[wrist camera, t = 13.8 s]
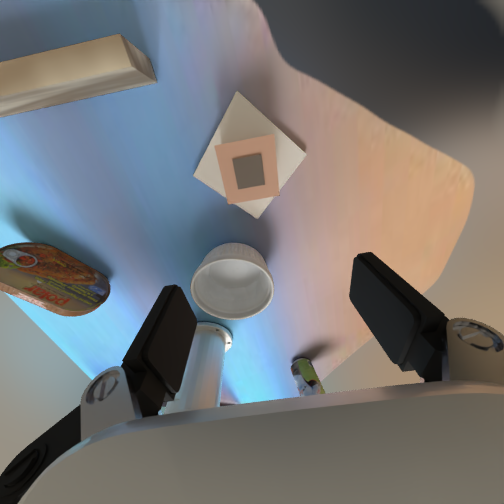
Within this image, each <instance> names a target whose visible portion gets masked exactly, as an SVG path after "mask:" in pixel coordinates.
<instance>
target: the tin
mask: <svg viewBox="0 0 504 504" xmlns="http://www.w3.org/2000/svg"><path fill="white" fill-rule="evenodd" d="M0 290H1V291H4V292H6V293H8V294H11V295H13V296H16V297H18V298H20V299H23V300H25V301H28V302H30V303H32V304H35V305H37V306H39V307H42V308H44V309H47V310H49V311H51V312H53V313H56V314H59V315H62V316H81V315H85V314H88V313H90V312H92V311H94V310H95V309H97V308H98V307H99V306H100V305H101V304H103V303H104V302H105V301H106V300H107V298H108V297H109V294H110V284H109V281H108V279H107V278H106V277H105V276H104V275H103V274H102V273H100V272H98V271H97V270H95V269H93V268H91V267H89V266H87V265H86V264H84V263H82V262H80V261H78V260H76V259H75V258H73V257H71V256H69V255H68V254H66V253H64V252H62V251H61V250H59V249H57V248H55V247H52V246H49V245H46V244H41V243H32V242H25V243H16V244H11V245H7V246H5V247H2V248H0Z"/></svg>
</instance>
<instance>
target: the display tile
mask: <svg viewBox="0 0 504 504" xmlns="http://www.w3.org/2000/svg"><path fill="white" fill-rule="evenodd" d="M271 134H274V137H275V148H276V160H277V171H278V183H279V190H280V189H281V188H282V186H283V185H284V184H285V183H286V181H287V180H288V179H289V177H290V176H291V175H292V173H293V172H294V171H295V170H296V168H297V167H298V166H299V164H300V163H301V162H302V160H303V159H304V158H305V156H306V155H307V154H306V153H305V152H304V151H302V150H301V149H300V148H299V147H298V146H297V145H296V144H295V143H294V142H293V141H292V140H290V139H289V138H288V137H287V136H286V135H285V134H284V133H283V132H282V131H281V130H280V129H278V128H277V127H276V126H275V125H274V124H273V123H272V122H271V121H270V120H269V119H268V118H266V117H265V116H264V115H263V114H262V113H261V112H260V111H259V110H258V109H257V108H256V107H254V106H253V105H252V104H251V103H250V102H249V101H248V100H247V99H246V98H245V97H244V96H242V95H241V94H240V93H239V92H238V91H236V93H235V95H234V97H233V99H232V101H231V103H230V105H229V107H228V109H227V111H226V113H225V115H224V117H223V119H222V120H221V122H220V124H219V126H218V128H217V130H216V132H215V134H214V136H213V138H212V140H211V142H210V144H209V146H208V148H207V150H206V151H205V153H204V155H203V157H202V159H201V161H200V163H199V165H198V167H197V169H196V171H195V173H194V175H193V176H194V177H196V178H197V179H199V180H200V181H201V182H203V183H204V184H206V185H207V186H209V187H210V188H212V189H213V190H215V191H216V192H218V193H219V194H221V195H222V196H224V197H225V198H227V197H226V193H225V189H224V185H223V181H222V176H221V172H220V168H219V164H218V159H217V155H216V151H215V147H214V146H215V145H220V144H225V143H230V142H235V141H241V140H246V139H251V138H256V137H261V136H266V135H271ZM274 197H275V196H274ZM274 197H268V198H262V199H257V200H251V201H245V202H240V203H234V204H236V205H237V206H239V207H240V208H242V209H243V210H244V211H246V212H247V213H249V214H250V215H252V216H253V217H255V218H256V219H258V218H259V217H260V215H261V214H262V213H263V211H264V210H265V209H266V207H267V206H268V205H269V203H270V202H271V201H272V200H273V198H274Z"/></svg>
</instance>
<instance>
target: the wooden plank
mask: <svg viewBox="0 0 504 504" xmlns="http://www.w3.org/2000/svg"><path fill="white" fill-rule="evenodd" d="M155 83H157V80H156V77H155V74H154V71H153V68H152V65H151V62H150V59H149V58H148V57H147V56H146V55H145V54H143V53H142V52H141V51H140V50H139V49H137V48H136V47H135V46H134V45H133V44H131V43H130V42H129V41H128V40H127V39H125V38H124V37H123V36H122V35H121V34H116V35H112V36H107V37H103V38H99V39H95V40H91V41H87V42H82V43H78V44H74V45H70V46H66V47H62V48H57V49H53V50H49V51H45V52H41V53H37V54H33V55H28V56H24V57H20V58H16V59H12V60H8V61H3V62H0V117H5V116H9V115H14V114H18V113H23V112H27V111H32V110H36V109H41V108H46V107H50V106H55V105H59V104H64V103H68V102H73V101H77V100H82V99H86V98H91V97H96V96H100V95H105V94H109V93H114V92H118V91H123V90H127V89H132V88H136V87H141V86H146V85H150V84H155Z"/></svg>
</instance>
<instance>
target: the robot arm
mask: <svg viewBox="0 0 504 504" xmlns="http://www.w3.org/2000/svg"><path fill="white" fill-rule="evenodd" d="M349 297H350V300H351V302H352V304H353V305H354V307H355V308H356V310H357V311H358V312H359V314H360V315H361V317H362V318H363V320H364V321H365V323H366V324H367V326H368V327H369V329H370V330H371V332H372V333H373V335H374V336H375V338H376V339H377V340H378V342H379V343H380V345H381V346H382V348H383V349H384V351H385V352H386V354H387V355H388V357H389V358H390V360H391V361H392V362H393V363H394V364H398V366H399V367H400V369H401V370H402V371H403V372H404V371H412V370H416V372H417V373H418V375H419V376H420V383H416V384H405V385H395V386H385V387H377V388H369V389H360V390H352V391H343V392H335V393H326V394H318V395H310V396H302V397H293V398H285V399H277V400H269V401H261V402H253V403H245V404H237V405H230V406H222V407H220V396H221V386H222V376H223V366H224V356H225V352H226V351H227V350H229V349H230V347H231V345H232V335H231V333H230V332H229V331H228V330H227V329H226V328H224V327H223V326H221V325H219V324H215V323H210V322H198V323H197V319H196V317H195V315H194V313H193V311H192V309H191V307H190V305H189V303H188V301H187V299H186V297H185V295H184V293H183V291H182V289H181V287H178V286H177V285H169V286H165V287H164V288H163V289H162V291H161V293H160V295H159V296H158V298H157V300H156V302H155V304H154V305H153V307H152V309H151V311H150V312H149V314H148V316H147V318H146V319H145V321H144V323H143V325H142V327H141V328H140V330H139V332H138V334H137V335H136V337H135V339H134V341H133V343H132V344H131V346H130V348H129V350H128V351H127V353H126V355H125V357H124V358H123V360H122V361H123V363H122V365H121V367H119V366H114V367H111V368H108V369H106V370H105V371H103V372H101V373H100V374H99V375H98V376H96V377H95V378H94V379H93V380H92V381H91V382H90V384H89V385H88V387H87V388H86V389H85V391H84V393H83V395H82V397H81V404H80V405H79V406H78V407H76V408H75V409H74V410H73V411H71V412H70V413H69V414H68V415H67V416H65V417H64V418H62V419H61V420H60V421H59V422H57V423H56V424H55V425H54V426H52V427H51V428H50V429H49V430H47V431H46V432H45V433H43V434H42V435H41V436H40V437H38V438H37V439H36V440H35V441H33V442H32V443H31V444H30V445H28V446H27V447H26V448H25V449H24V450H23V451H21V452H20V453H19V454H18V455H17V456H16V457H15V458H14V459H13V460H12V462H11V463H10V464H9V465H8V466H7V467H6V469H5V470H4V472H3V473H2V474H1V476H0V504H504V336H503V335H502V334H501V333H500V332H498V331H497V330H495V329H494V328H492V327H490V326H488V325H486V324H484V323H482V322H478V321H476V320H472V319H467V318H454V319H451V320H449V319H448V318H447V317H445V316H444V313H443V312H441V311H440V310H439V309H438V308H437V307H436V306H434V305H433V304H432V303H431V302H429V301H428V300H427V299H426V298H425V297H424V296H423V295H421V294H420V293H419V292H418V291H417V290H415V289H414V288H413V287H412V286H411V285H410V284H408V283H407V282H406V281H405V280H404V279H403V278H401V277H400V276H399V275H398V274H397V273H395V272H394V271H393V270H392V269H391V268H390V267H388V266H387V265H386V264H385V263H384V262H383V261H381V260H380V259H379V258H378V257H377V256H375V255H374V254H373V253H372V252H366V253H360V254H358V255H357V257H355V258H354V261H353V269H352V277H351V285H350V294H349ZM163 402H167V405H166V409H165V412H164V414H162V412H161V407H162V404H163Z"/></svg>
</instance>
